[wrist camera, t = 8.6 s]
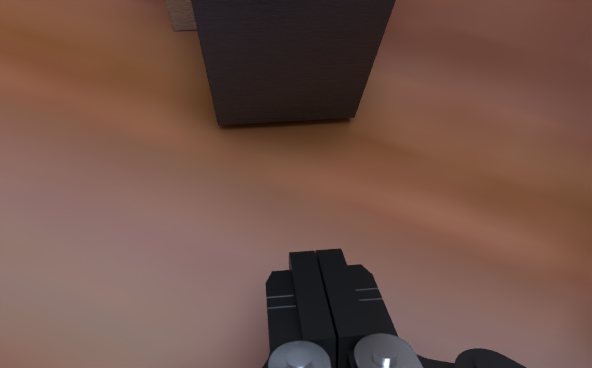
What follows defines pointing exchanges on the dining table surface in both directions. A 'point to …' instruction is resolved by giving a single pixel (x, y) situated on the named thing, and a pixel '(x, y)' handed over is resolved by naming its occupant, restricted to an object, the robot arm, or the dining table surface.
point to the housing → (181, 14)
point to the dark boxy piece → (288, 56)
